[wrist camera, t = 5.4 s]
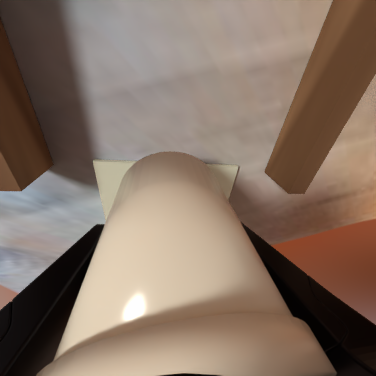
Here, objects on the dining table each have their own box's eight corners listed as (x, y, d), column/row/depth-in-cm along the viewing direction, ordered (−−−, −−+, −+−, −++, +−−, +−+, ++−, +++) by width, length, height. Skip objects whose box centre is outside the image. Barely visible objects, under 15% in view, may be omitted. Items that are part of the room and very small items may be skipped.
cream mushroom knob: (107, 143, 8) (-149, 463, 1) (232, 151, 9) (422, 345, 2) (124, 256, 13) (85, 449, 6) (204, 252, 14) (245, 410, 7)
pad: (237, 165, 13) (238, 166, 12) (214, 243, 17) (215, 245, 17) (94, 159, 11) (92, 161, 11) (113, 247, 16) (112, 250, 15)
